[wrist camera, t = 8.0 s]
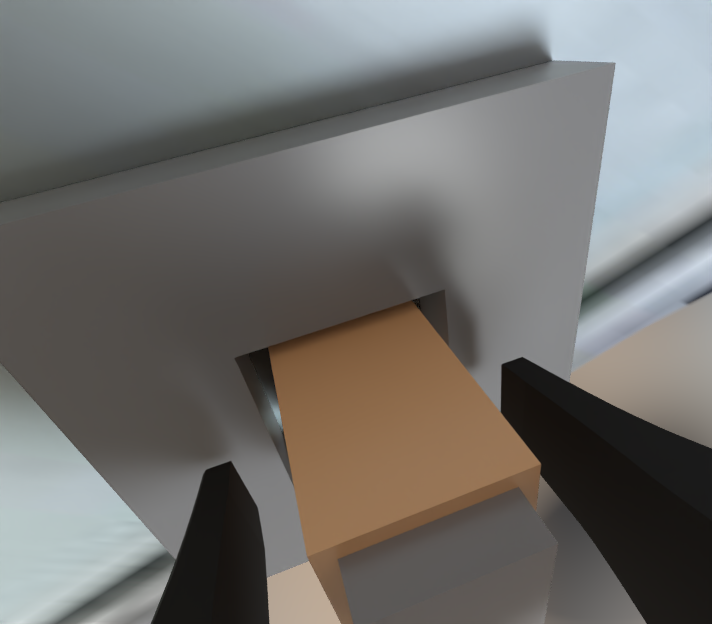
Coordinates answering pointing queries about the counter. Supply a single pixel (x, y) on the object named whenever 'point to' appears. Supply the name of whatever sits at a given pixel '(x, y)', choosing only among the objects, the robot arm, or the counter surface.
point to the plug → (409, 478)
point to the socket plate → (297, 275)
